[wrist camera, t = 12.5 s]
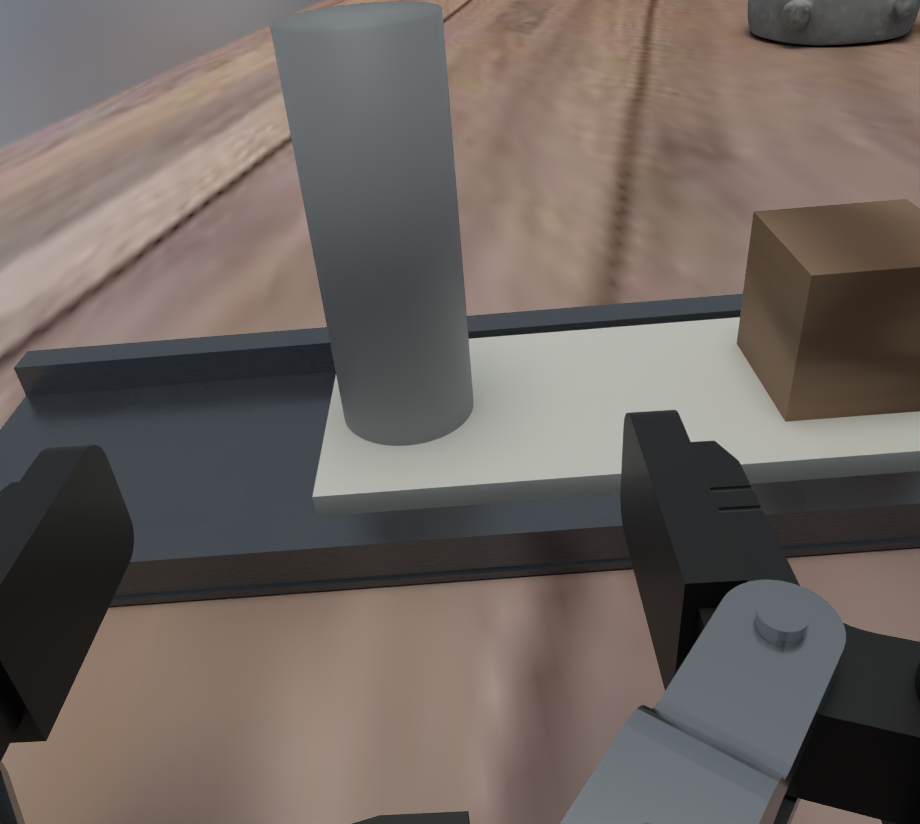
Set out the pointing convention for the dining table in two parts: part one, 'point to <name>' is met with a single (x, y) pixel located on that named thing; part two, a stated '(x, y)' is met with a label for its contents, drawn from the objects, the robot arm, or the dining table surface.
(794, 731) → the robot arm
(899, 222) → the walnut block
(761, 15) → the dish
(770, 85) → the dining table surface
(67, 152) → the dining table surface
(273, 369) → the track
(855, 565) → the dining table surface
